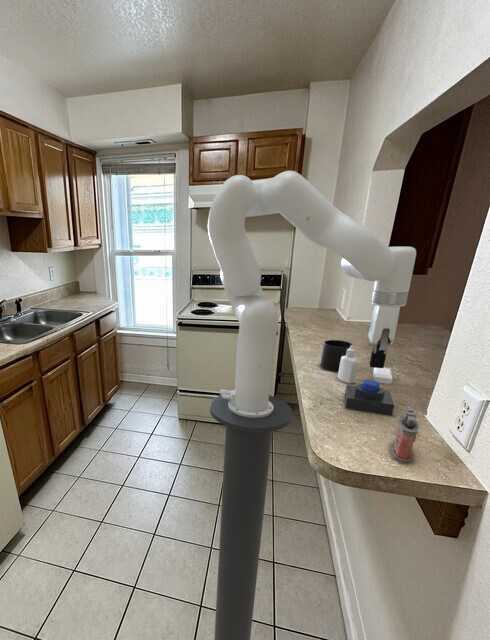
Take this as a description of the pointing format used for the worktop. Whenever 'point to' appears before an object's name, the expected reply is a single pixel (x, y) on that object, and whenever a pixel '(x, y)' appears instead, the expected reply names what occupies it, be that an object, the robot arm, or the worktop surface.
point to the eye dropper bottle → (348, 367)
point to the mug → (333, 354)
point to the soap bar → (382, 375)
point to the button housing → (368, 400)
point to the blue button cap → (370, 385)
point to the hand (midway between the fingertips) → (376, 366)
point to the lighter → (405, 436)
